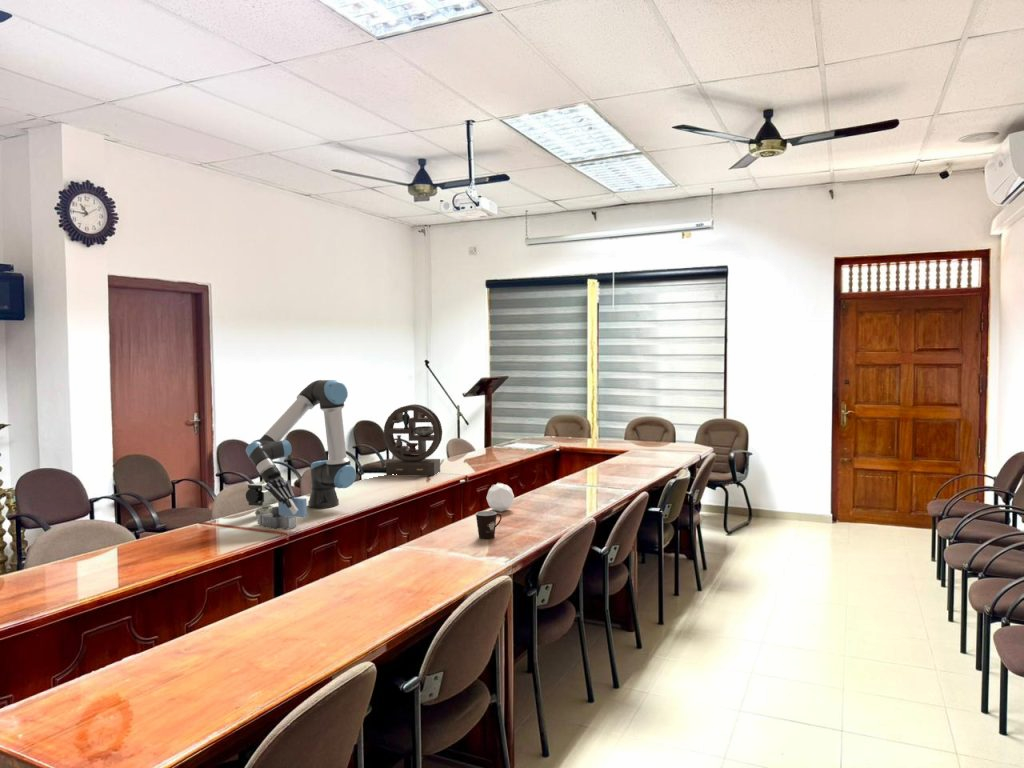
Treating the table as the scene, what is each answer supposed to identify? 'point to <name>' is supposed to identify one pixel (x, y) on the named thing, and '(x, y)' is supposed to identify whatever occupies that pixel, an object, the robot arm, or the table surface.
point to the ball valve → (260, 497)
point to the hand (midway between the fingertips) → (295, 512)
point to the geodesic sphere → (500, 497)
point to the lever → (284, 510)
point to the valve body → (276, 521)
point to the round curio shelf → (406, 460)
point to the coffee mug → (487, 524)
